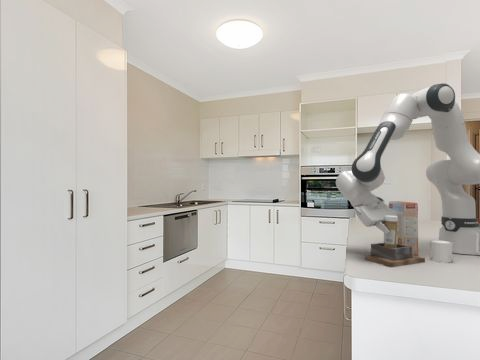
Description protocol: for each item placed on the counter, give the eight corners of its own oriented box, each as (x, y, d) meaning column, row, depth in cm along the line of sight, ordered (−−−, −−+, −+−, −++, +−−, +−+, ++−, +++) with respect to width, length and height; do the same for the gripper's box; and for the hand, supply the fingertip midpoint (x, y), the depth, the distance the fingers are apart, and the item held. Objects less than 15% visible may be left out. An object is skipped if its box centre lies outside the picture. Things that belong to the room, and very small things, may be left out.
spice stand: (397, 255, 109) (397, 241, 109) (424, 262, 99) (424, 246, 99) (364, 259, 103) (364, 244, 103) (390, 267, 93) (390, 250, 93)
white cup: (448, 259, 103) (448, 240, 103) (456, 264, 97) (456, 244, 97) (427, 257, 105) (427, 239, 106) (433, 262, 99) (433, 242, 99)
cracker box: (419, 255, 108) (418, 202, 109) (403, 255, 109) (402, 202, 110) (402, 248, 122) (402, 200, 123) (388, 247, 123) (387, 200, 123)
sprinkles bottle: (400, 253, 100) (400, 216, 101) (392, 254, 98) (393, 216, 98) (388, 250, 104) (388, 215, 105) (380, 251, 102) (381, 215, 102)
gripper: (357, 199, 101) (384, 229, 93) (384, 198, 113) (410, 224, 105) (346, 210, 104) (372, 240, 96) (373, 208, 117) (398, 234, 109)
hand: (392, 232), depth 101 cm, fingers closed on sprinkles bottle, 4 cm apart
